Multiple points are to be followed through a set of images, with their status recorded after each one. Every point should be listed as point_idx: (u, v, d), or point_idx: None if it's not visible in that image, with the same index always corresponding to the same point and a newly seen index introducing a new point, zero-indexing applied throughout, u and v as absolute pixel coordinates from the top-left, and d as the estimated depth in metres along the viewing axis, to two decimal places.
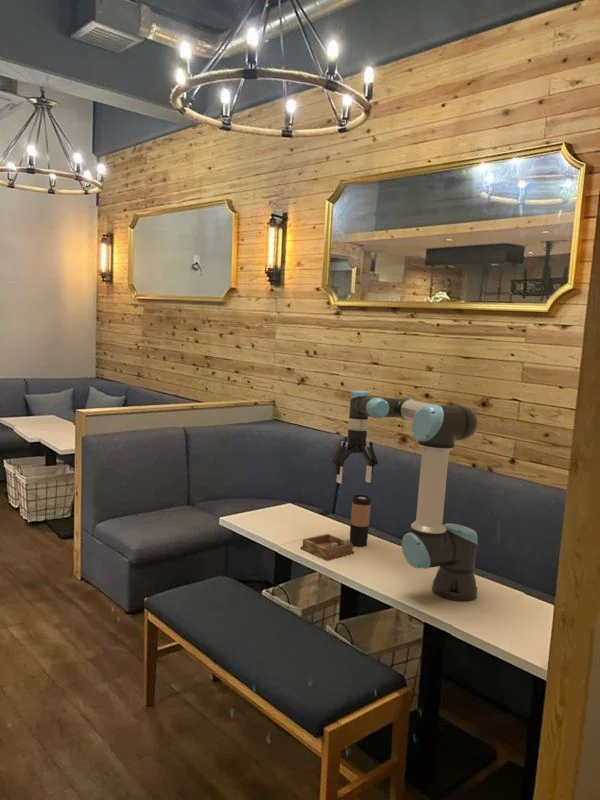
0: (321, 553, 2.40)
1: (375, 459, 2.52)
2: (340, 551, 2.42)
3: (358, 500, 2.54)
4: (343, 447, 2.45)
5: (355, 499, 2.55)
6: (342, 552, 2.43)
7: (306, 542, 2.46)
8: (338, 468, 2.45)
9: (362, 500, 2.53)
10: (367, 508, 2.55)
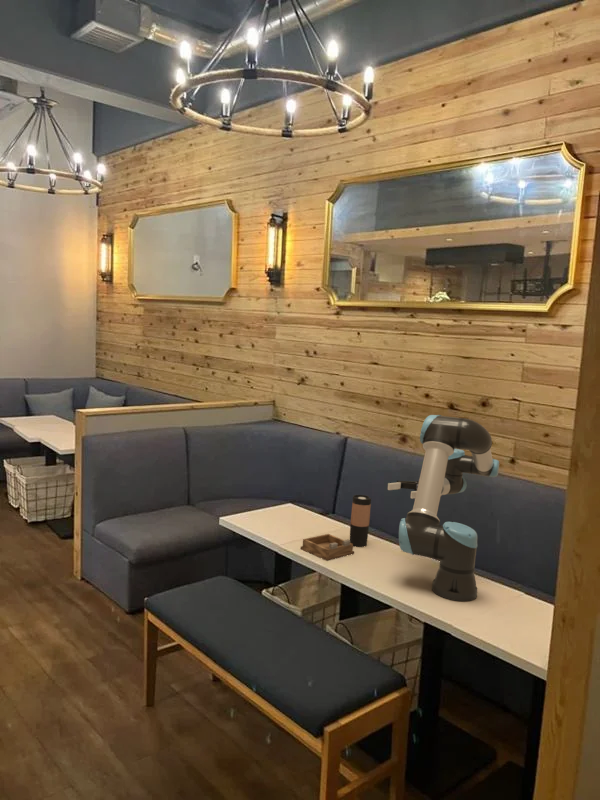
0: (321, 553, 2.40)
1: None
2: (340, 551, 2.42)
3: (358, 500, 2.54)
4: (413, 481, 2.68)
5: (355, 499, 2.55)
6: (342, 552, 2.43)
7: (306, 542, 2.46)
8: (397, 483, 2.65)
9: (362, 500, 2.53)
10: (367, 509, 2.55)
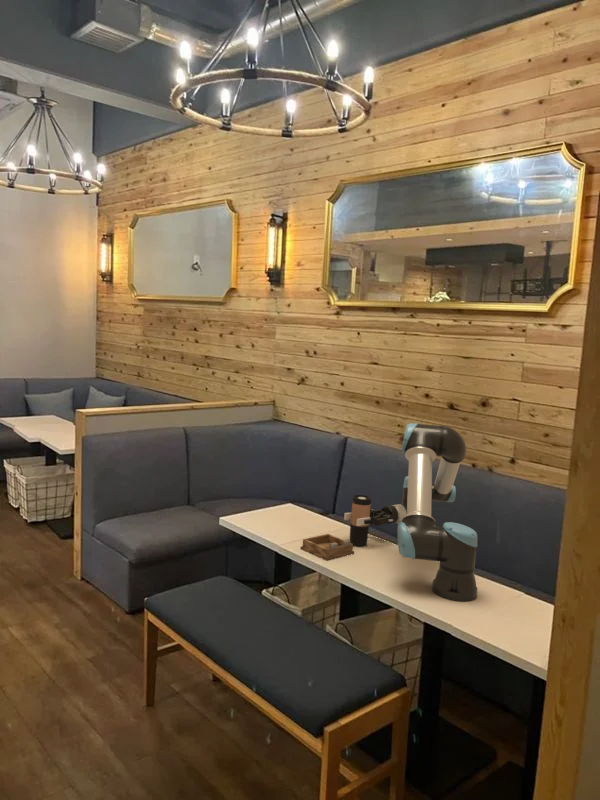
0: (321, 553, 2.40)
1: (379, 518, 2.55)
2: (340, 551, 2.42)
3: (358, 500, 2.54)
4: None
5: (355, 499, 2.55)
6: (342, 552, 2.43)
7: (306, 542, 2.46)
8: None
9: (362, 500, 2.53)
10: (367, 508, 2.55)
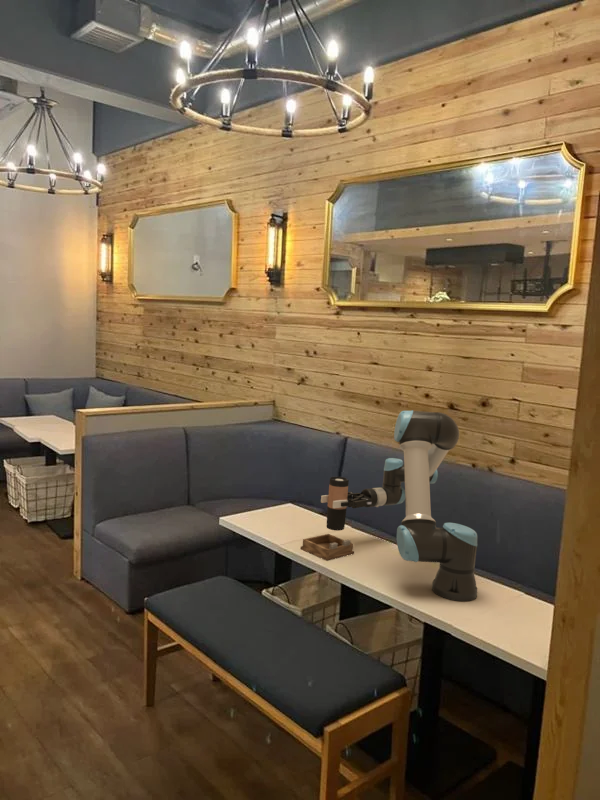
0: (321, 553, 2.40)
1: (357, 501, 2.46)
2: (340, 551, 2.42)
3: (335, 482, 2.45)
4: (348, 492, 2.59)
5: (332, 481, 2.46)
6: (342, 552, 2.43)
7: (306, 542, 2.46)
8: None
9: (339, 482, 2.45)
10: (345, 490, 2.46)
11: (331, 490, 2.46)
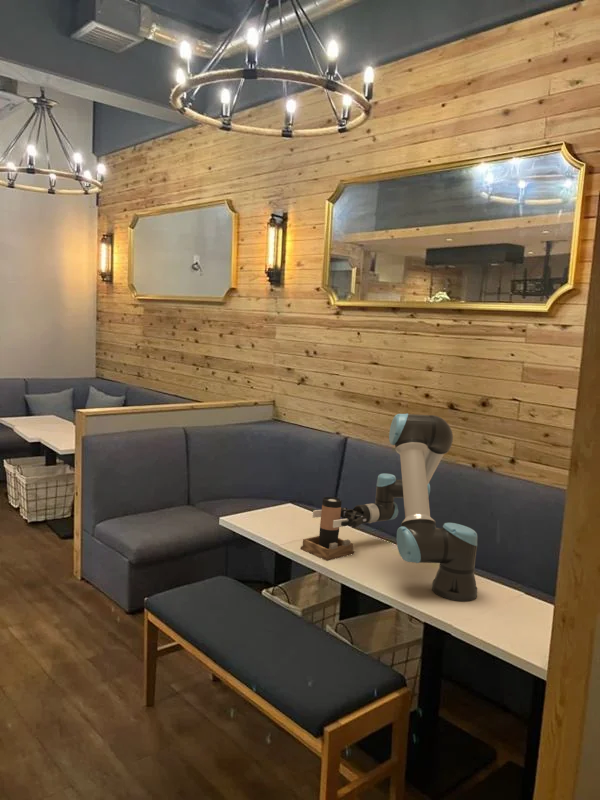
0: (321, 553, 2.40)
1: (356, 520, 2.42)
2: (340, 551, 2.42)
3: (328, 502, 2.43)
4: (342, 508, 2.58)
5: (325, 501, 2.44)
6: (342, 552, 2.43)
7: (306, 542, 2.46)
8: None
9: (332, 502, 2.42)
10: (337, 511, 2.43)
11: (324, 511, 2.44)
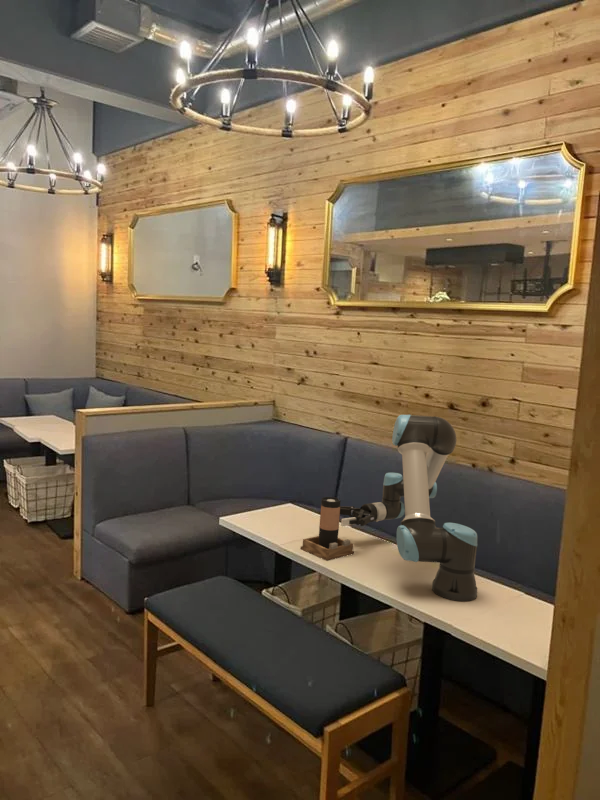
0: (321, 553, 2.40)
1: (364, 518, 2.45)
2: (340, 551, 2.42)
3: (326, 502, 2.42)
4: None
5: (323, 501, 2.43)
6: (342, 552, 2.43)
7: (306, 542, 2.46)
8: None
9: (331, 502, 2.42)
10: (336, 511, 2.43)
11: (323, 511, 2.44)
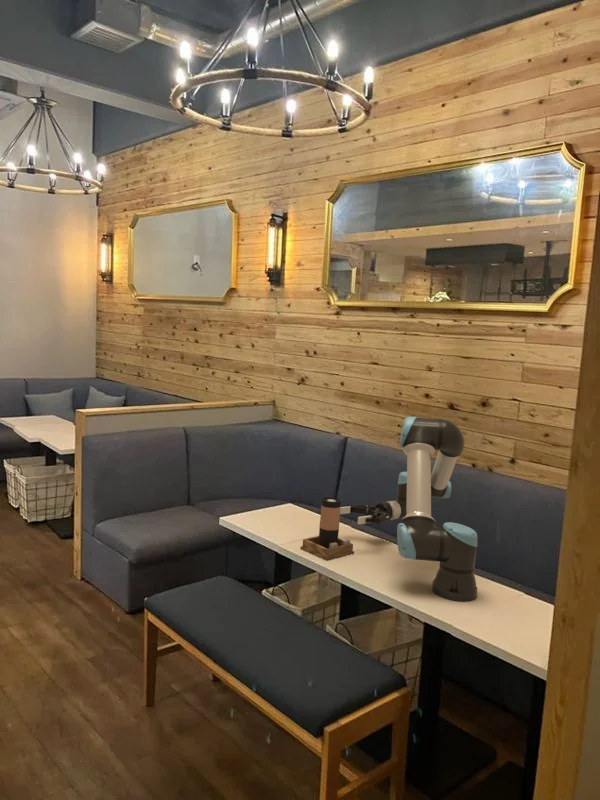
0: (321, 553, 2.40)
1: (379, 516, 2.49)
2: (340, 551, 2.42)
3: (327, 502, 2.42)
4: (364, 505, 2.64)
5: (324, 501, 2.43)
6: (342, 552, 2.43)
7: (306, 542, 2.46)
8: None
9: (331, 502, 2.42)
10: (337, 511, 2.43)
11: (323, 511, 2.44)
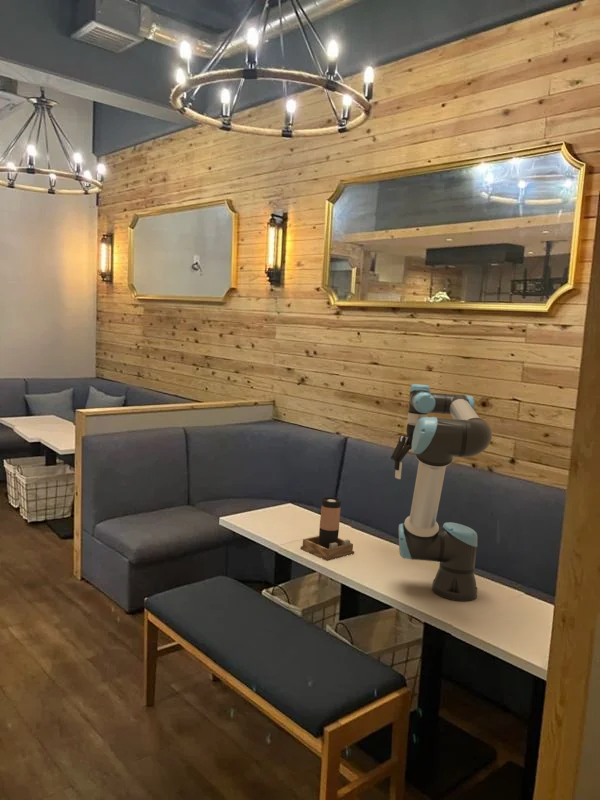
0: (321, 553, 2.40)
1: None
2: (340, 551, 2.42)
3: (327, 503, 2.42)
4: (403, 442, 2.40)
5: (324, 502, 2.43)
6: (342, 552, 2.43)
7: (306, 542, 2.46)
8: (397, 464, 2.41)
9: (331, 503, 2.42)
10: (337, 512, 2.43)
11: (323, 511, 2.43)
